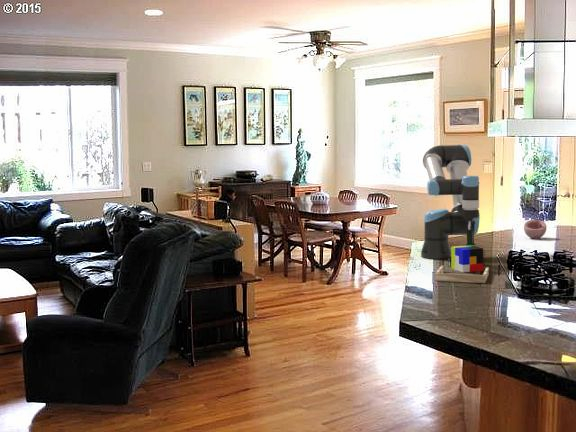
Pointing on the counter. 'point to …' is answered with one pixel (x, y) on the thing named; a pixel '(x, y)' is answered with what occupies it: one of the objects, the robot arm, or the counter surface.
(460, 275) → the tray
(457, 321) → the counter surface
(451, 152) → the robot arm
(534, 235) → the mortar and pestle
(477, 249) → the puzzle toy
